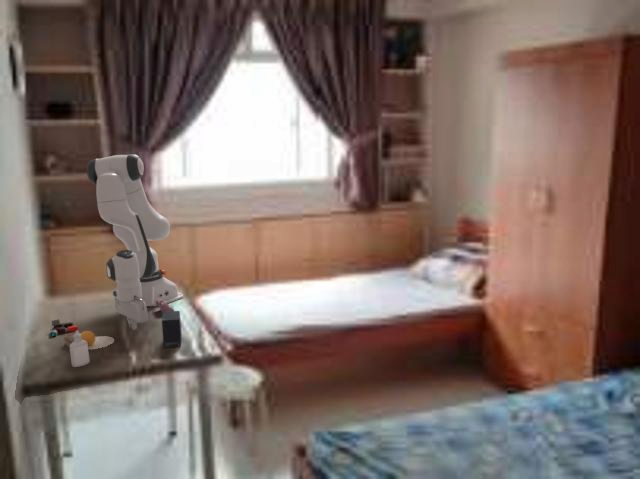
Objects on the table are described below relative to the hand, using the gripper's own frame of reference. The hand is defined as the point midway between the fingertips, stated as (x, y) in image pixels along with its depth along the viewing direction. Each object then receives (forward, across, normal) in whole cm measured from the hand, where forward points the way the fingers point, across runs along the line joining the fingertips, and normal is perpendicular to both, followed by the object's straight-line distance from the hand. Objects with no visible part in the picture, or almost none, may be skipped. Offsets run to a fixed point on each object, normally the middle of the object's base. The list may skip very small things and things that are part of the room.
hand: (133, 328), depth 240 cm
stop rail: (+2, 0, +22) cm, 22 cm away
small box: (+2, -21, -5) cm, 22 cm away
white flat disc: (+2, 0, +15) cm, 15 cm away
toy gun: (+2, +21, +18) cm, 28 cm away
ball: (-1, -1, +18) cm, 18 cm away
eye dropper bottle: (+2, -16, +27) cm, 31 cm away
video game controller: (+2, +14, -21) cm, 25 cm away
